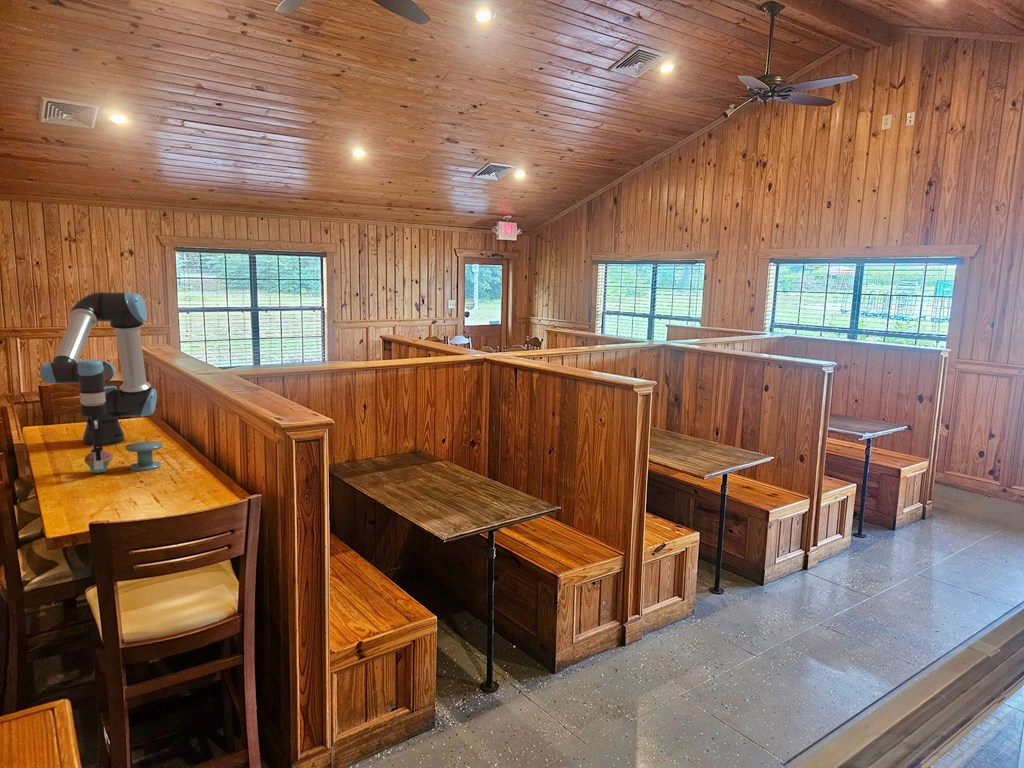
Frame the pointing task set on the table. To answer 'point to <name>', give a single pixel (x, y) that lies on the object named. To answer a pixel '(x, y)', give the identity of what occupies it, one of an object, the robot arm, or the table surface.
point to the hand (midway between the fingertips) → (97, 465)
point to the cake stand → (144, 455)
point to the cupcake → (90, 461)
